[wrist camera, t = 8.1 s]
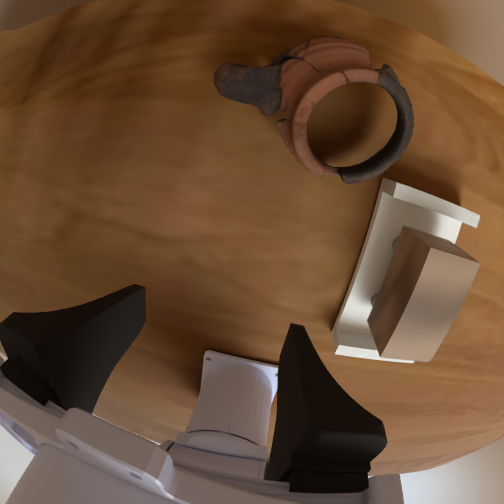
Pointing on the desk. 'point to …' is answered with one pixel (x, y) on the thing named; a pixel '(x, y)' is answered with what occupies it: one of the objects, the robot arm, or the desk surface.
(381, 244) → the peg stand
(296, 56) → the pottery mug
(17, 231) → the desk surface
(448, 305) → the tan rectangular block
